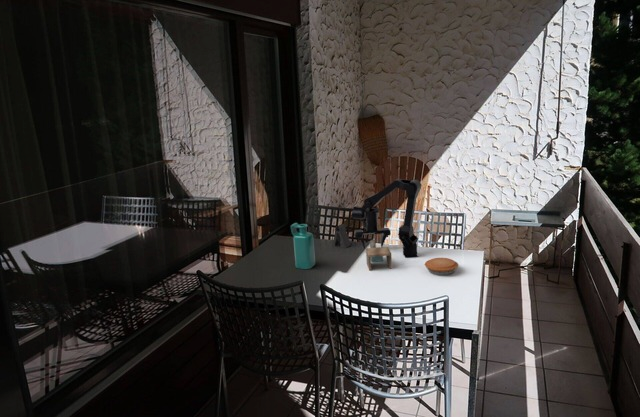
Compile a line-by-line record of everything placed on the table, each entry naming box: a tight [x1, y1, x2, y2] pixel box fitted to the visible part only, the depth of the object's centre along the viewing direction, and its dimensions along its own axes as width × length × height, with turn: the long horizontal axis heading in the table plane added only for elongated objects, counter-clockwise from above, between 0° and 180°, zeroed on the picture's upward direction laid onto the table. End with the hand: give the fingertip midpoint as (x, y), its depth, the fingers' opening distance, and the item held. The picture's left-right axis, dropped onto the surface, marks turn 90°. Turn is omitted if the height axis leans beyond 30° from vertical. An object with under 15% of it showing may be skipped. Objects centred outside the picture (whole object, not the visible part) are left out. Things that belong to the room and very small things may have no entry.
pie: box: [423, 257, 459, 276], centre depth 244 cm, size 15×16×5 cm
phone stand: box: [331, 223, 352, 249], centre depth 289 cm, size 9×6×12 cm, turn 55°
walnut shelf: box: [365, 246, 393, 271], centre depth 255 cm, size 11×10×8 cm
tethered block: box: [369, 239, 384, 263], centre depth 270 cm, size 6×18×6 cm, turn 1°
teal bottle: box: [289, 222, 316, 270], centre depth 260 cm, size 10×8×22 cm
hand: (373, 247), depth 277 cm, fingers open, 9 cm apart
